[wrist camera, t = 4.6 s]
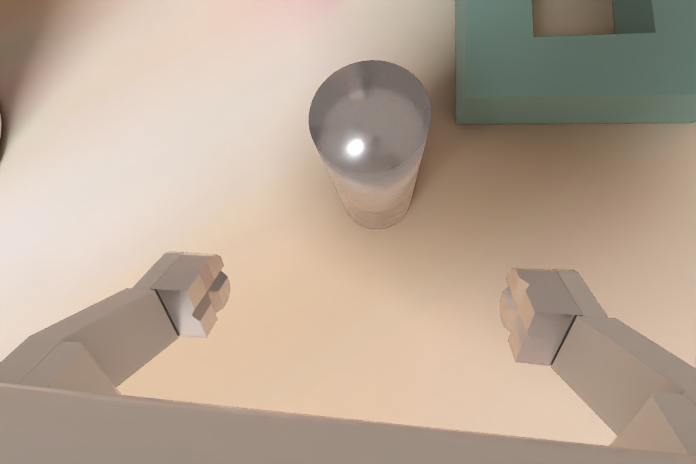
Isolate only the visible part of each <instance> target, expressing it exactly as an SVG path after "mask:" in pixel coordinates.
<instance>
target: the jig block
mask: <svg viewBox="0 0 696 464" xmlns="http://www.w3.org/2000/svg"><path fill="white" fill-rule="evenodd" d="M612 3H613V13H614V23H615V33H616V34H605V35H577V36H548V37H534V32H533V13H532V0H455V59H456V124H556V123H693V122H695V121H696V0H612Z"/></svg>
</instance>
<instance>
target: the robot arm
mask: <svg viewBox="0 0 696 464" xmlns="http://www.w3.org/2000/svg"><path fill="white" fill-rule="evenodd" d="M0 137H1V115H0ZM223 266H224V264H223V261H222V259H221V257H220V256H218V255H216V254H203V253H189V252H185V253H184V252H168V253H165V254H164V255H163V256H162V257H161V258H160V259H159V260H158V261H157V262H156V263H155V264H154V266H153V267H152V268H151V269H150V270H149V271H148V272H147V273H146V274H145V275H144V276H143V277H142V278H141V279H140V280H139V282H138V283H137V284H136V285H135V286H134V287H133V288H132V289H131V288H126V289H124V290H122V291H120V292H118V293H116V294H114V295H112V296H110V297H108V298H106V299H104V300H102V301H100V302H98V303H96V304H94V305H92V306H90V307H88V308H86V309H84V310H82V311H80V312H78V313H76V314H74V315H72V316H70V317H68V318H66V319H64V320H62V321H60V322H58V323H56V324H54V325H52V326H49V327H47V328H45V329H43V330H41V331H39V332H37V333H35V334H33V335H31V336H29V337H28V338H27V339H26V340H25V341H24V342H23V343H21V344H20V345H19V346H18V347H17V348H16V349H15V350H14V351H13V352H12V353H10V354H9V355H8V356H7V357H6V358H5V359H4V360H3V361H2V362H0V464H696V368H694V367H692V366H691V365H689V364H688V363H686V362H684V361H683V360H681V359H680V358H678V357H676V356H675V355H673V354H672V353H670V352H668V351H667V350H665V349H664V348H662V347H661V346H659V345H657V344H656V343H654V342H653V341H651V340H649V339H648V338H646V337H645V336H643V335H641V334H640V333H638V332H637V331H635V330H634V329H632V328H630V327H629V326H627V325H626V324H624V323H622V322H621V321H619V320H618V319H616V318H609V317H608V316H607V314H606V313H605V311H604V310H603V309H602V307H601V306H600V304H599V303H598V301H597V300H596V298H595V297H594V295H593V294H592V292H591V291H590V289H589V288H588V286H587V285H586V283H585V282H584V281H583V279H582V278H581V276H580V275H579V273H578V272H576V271H575V270H559V269H553V270H544V269H520V268H511V270H510V271H509V273H508V276H507V279H506V280H507V283H508V285H509V287H508V288H507V289H506V290H504V291H503V292H502V296H501V300H500V315H501V320H502V323H503V326H504V327H505V328H506V329H507V330H508V331H510V332H511V333H510V336H509V339H508V342H509V345H510V347H511V350H512V353H513V356H514V359H515V362H520V363H529V364H539V365H548V366H551V368H552V369H553V370H554V371H555V372H556V373H557V374H558V375H559V376H560V377H561V378H562V379H563V380H564V381H565V382H566V383H567V384H568V385H569V386H570V387H571V388H572V389H573V391H574V392H575V393H576V394H577V395H578V396H579V397H580V398H581V399H582V400H583V401H584V402H585V403H586V404H587V405H588V406H589V407H590V408H591V409H592V410H593V411H594V412H595V413H596V414H597V415H598V416H599V417H600V418H601V419H602V420H603V421H604V422H605V423H606V424H607V425H608V427H609V428H610V429H611V430H612V431H613V432H614V433H615V434H616V435H617V437H616V438H615V439H614V441H613V442H612V443H611V444H610V445H609V446H603V445H593V444H584V443H574V442H565V441H555V440H546V439H536V438H526V437H517V436H507V435H498V434H488V433H479V432H469V431H459V430H450V429H440V428H431V427H421V426H412V425H402V424H392V423H383V422H373V421H364V420H354V419H344V418H335V417H325V416H316V415H306V414H297V413H287V412H278V411H268V410H258V409H249V408H239V407H230V406H220V405H211V404H201V403H192V402H182V401H173V400H163V399H154V398H144V397H135V396H125V395H121V393H120V392H119V391H118V389H117V388H116V387H117V386H118V385H120V384H121V383H122V382H124V381H125V380H126V379H127V378H129V377H130V376H131V375H132V374H134V373H135V372H136V371H137V370H139V369H140V368H141V367H142V366H144V365H145V364H146V363H147V362H149V361H150V360H151V359H153V358H154V357H155V356H156V355H158V354H159V353H160V352H161V351H163V350H164V349H165V348H166V347H168V346H169V345H170V344H171V343H173V342H174V341H175V340H176V339H178V336H183V337H203V338H207V336H208V335H209V333H210V331H211V329H212V328H213V326H214V324H215V322H216V321H217V316H216V312H218V311H219V310H221V309H222V308H224V306H225V305H226V303H227V301H228V298H229V293H230V283H229V280H228V277H227V276H226V275H225V274H224V273H223V272H222V271H221V270H222V268H223Z"/></svg>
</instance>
